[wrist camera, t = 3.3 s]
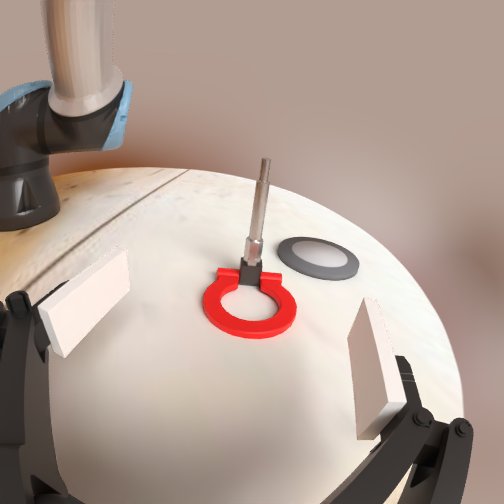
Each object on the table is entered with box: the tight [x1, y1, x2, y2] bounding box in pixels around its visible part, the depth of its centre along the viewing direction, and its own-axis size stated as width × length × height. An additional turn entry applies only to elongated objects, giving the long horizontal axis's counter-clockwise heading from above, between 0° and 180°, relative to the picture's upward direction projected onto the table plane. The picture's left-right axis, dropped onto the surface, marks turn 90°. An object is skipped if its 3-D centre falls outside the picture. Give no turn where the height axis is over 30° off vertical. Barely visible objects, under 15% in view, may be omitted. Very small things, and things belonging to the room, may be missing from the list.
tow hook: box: [203, 158, 297, 339], centre depth 23 cm, size 8×13×9 cm
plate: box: [278, 237, 359, 280], centre depth 37 cm, size 11×11×1 cm
